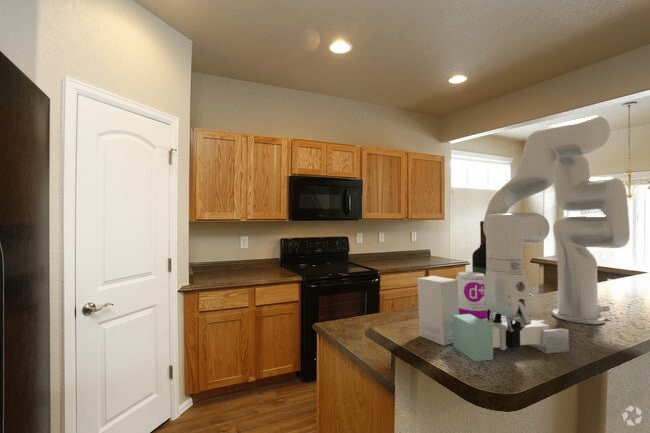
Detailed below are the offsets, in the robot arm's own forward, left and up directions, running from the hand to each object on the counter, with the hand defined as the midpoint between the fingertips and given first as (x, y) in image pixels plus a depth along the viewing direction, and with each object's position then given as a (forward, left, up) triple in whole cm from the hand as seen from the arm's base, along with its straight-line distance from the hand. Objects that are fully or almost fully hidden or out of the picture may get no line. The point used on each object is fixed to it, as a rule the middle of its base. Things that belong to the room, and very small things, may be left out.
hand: (505, 342), depth 74 cm
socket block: (+9, 0, -2) cm, 9 cm away
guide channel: (-11, 0, -2) cm, 11 cm away
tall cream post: (-1, 0, 0) cm, 2 cm away
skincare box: (+12, -9, -2) cm, 15 cm away
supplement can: (-3, -16, -2) cm, 17 cm away
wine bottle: (-13, -23, -2) cm, 27 cm away
